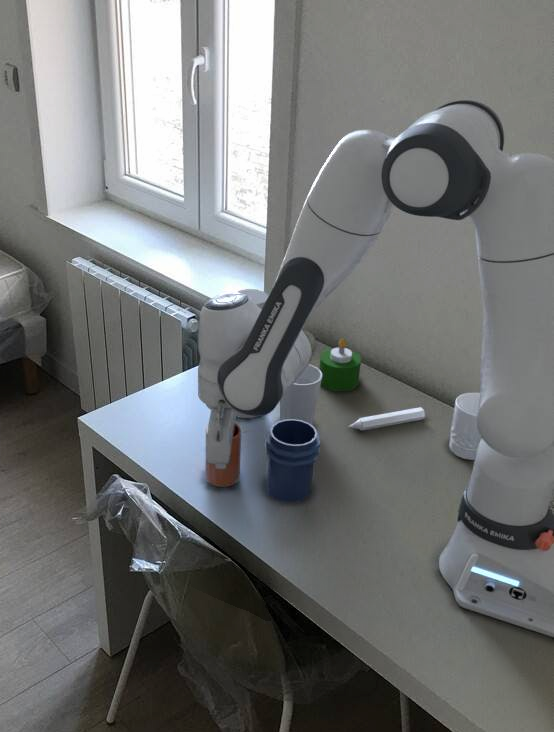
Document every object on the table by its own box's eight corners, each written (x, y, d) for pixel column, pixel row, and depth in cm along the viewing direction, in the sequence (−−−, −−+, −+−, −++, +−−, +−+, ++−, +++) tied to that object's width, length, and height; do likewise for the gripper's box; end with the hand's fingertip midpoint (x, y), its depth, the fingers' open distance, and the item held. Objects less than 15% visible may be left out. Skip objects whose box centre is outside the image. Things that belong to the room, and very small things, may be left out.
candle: (337, 366, 183) (342, 325, 177) (366, 382, 177) (372, 340, 172) (309, 379, 179) (313, 337, 173) (338, 395, 173) (343, 352, 168)
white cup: (464, 432, 162) (474, 387, 156) (499, 452, 156) (511, 406, 151) (436, 446, 158) (446, 401, 152) (471, 467, 153) (482, 421, 147)
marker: (345, 434, 164) (419, 419, 167) (349, 434, 161) (425, 419, 165) (343, 420, 163) (418, 406, 166) (348, 421, 161) (423, 406, 164)
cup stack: (319, 485, 150) (326, 429, 143) (296, 508, 145) (301, 451, 138) (281, 469, 154) (286, 414, 147) (257, 490, 149) (261, 434, 142)
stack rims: (328, 446, 145) (330, 434, 144) (300, 473, 139) (301, 460, 138) (284, 429, 150) (285, 417, 148) (255, 453, 144) (256, 441, 143)
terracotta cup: (246, 474, 152) (247, 428, 146) (226, 491, 148) (227, 444, 142) (218, 462, 155) (219, 416, 149) (198, 478, 151) (199, 432, 146)
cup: (315, 440, 161) (321, 386, 154) (273, 436, 162) (277, 383, 155) (317, 417, 167) (323, 364, 160) (276, 413, 169) (280, 361, 162)
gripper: (238, 422, 132) (236, 491, 140) (248, 357, 149) (245, 422, 156) (198, 419, 133) (198, 488, 141) (212, 355, 150) (211, 420, 157)
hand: (223, 453), depth 149 cm, fingers closed on terracotta cup, 6 cm apart
